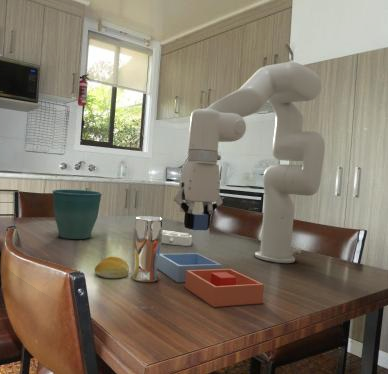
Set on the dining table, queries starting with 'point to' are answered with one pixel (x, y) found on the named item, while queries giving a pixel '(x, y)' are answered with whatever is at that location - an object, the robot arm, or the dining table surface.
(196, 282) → the terracotta bin
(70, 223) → the flower pot
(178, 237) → the white brass knuckles
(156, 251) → the beer glass
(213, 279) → the red block
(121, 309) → the dining table surface
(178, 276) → the blue bin
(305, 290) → the dining table surface
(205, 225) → the blue block
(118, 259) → the bread roll
